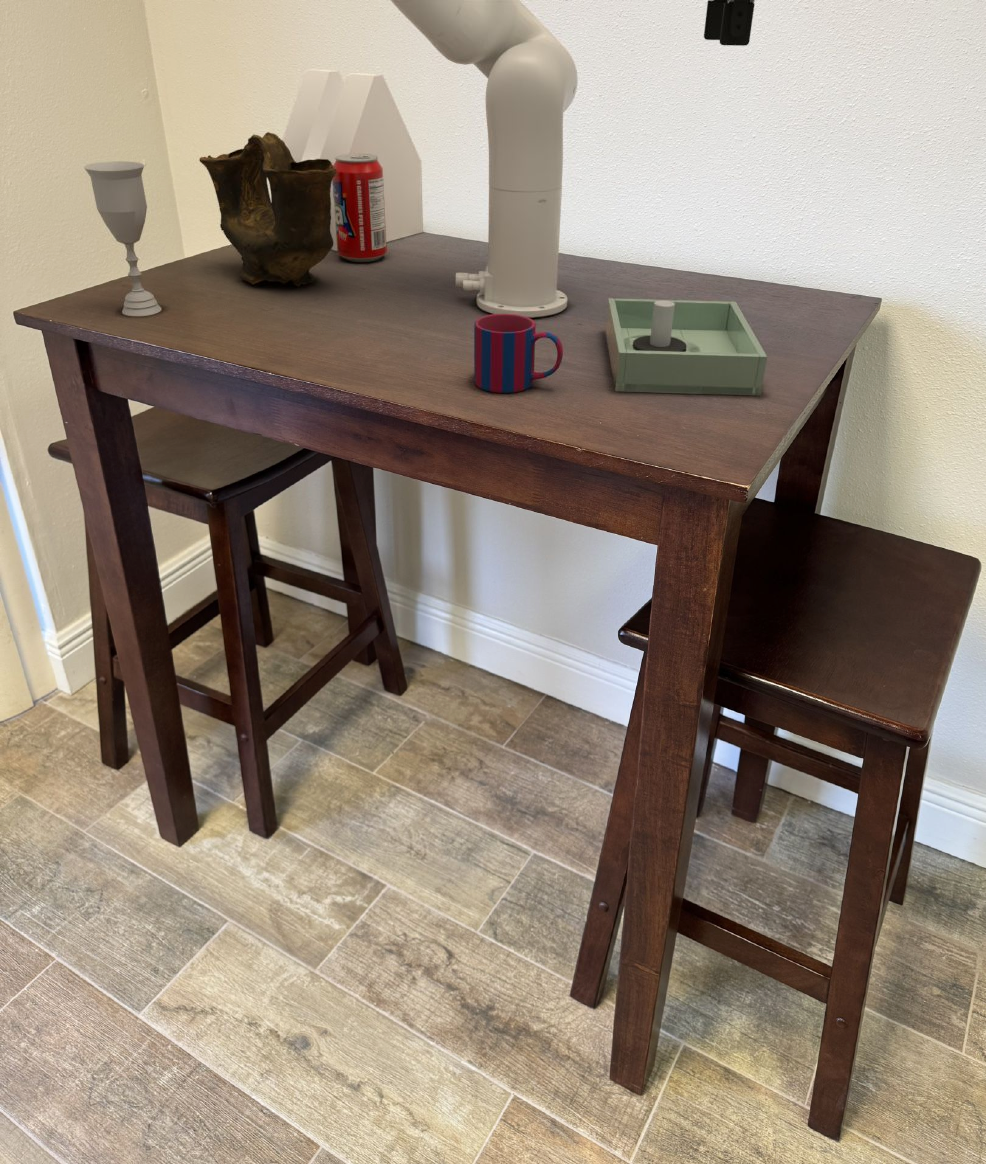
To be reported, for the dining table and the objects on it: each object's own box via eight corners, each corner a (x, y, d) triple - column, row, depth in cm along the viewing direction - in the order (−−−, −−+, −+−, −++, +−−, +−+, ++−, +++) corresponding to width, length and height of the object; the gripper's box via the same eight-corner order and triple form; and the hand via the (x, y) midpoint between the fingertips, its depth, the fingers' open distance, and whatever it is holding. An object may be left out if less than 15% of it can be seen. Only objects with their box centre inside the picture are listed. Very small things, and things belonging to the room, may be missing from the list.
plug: (634, 363, 111) (639, 310, 108) (630, 345, 117) (635, 294, 113) (688, 365, 111) (695, 312, 108) (681, 346, 117) (688, 295, 113)
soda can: (384, 264, 147) (379, 161, 139) (334, 263, 147) (326, 160, 139) (389, 252, 154) (385, 152, 146) (341, 251, 154) (334, 151, 146)
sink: (615, 391, 104) (618, 352, 102) (605, 333, 121) (608, 298, 118) (760, 395, 104) (767, 356, 101) (730, 336, 120) (735, 301, 118)
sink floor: (615, 391, 104) (616, 382, 104) (605, 333, 121) (606, 325, 120) (760, 395, 104) (761, 387, 103) (730, 336, 120) (731, 328, 120)
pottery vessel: (362, 291, 135) (353, 140, 124) (300, 306, 129) (285, 148, 118) (263, 257, 150) (247, 120, 139) (202, 270, 143) (181, 126, 132)
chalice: (180, 307, 127) (156, 164, 118) (145, 321, 122) (116, 172, 112) (138, 300, 130) (111, 159, 120) (102, 313, 125) (71, 167, 115)
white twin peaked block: (359, 219, 173) (350, 65, 160) (423, 231, 166) (419, 71, 152) (281, 238, 160) (264, 72, 147) (346, 253, 153) (334, 79, 139)
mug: (491, 367, 110) (492, 309, 106) (569, 383, 106) (573, 324, 102) (463, 386, 105) (463, 326, 101) (544, 403, 101) (547, 341, 97)
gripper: (698, -137, 106) (680, 37, 116) (729, -154, 92) (706, 47, 101) (764, -137, 106) (741, 38, 116) (806, -153, 92) (775, 47, 101)
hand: (725, 42), depth 108 cm, fingers open, 9 cm apart
